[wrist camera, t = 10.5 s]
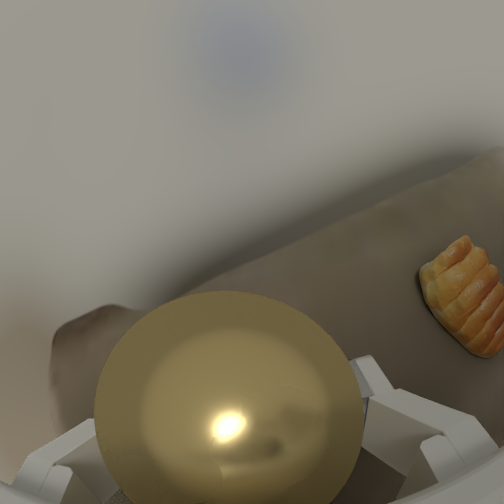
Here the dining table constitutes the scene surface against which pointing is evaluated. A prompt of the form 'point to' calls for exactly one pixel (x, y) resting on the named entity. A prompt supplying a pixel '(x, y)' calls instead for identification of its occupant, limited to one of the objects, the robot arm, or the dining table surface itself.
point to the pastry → (466, 296)
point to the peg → (228, 405)
